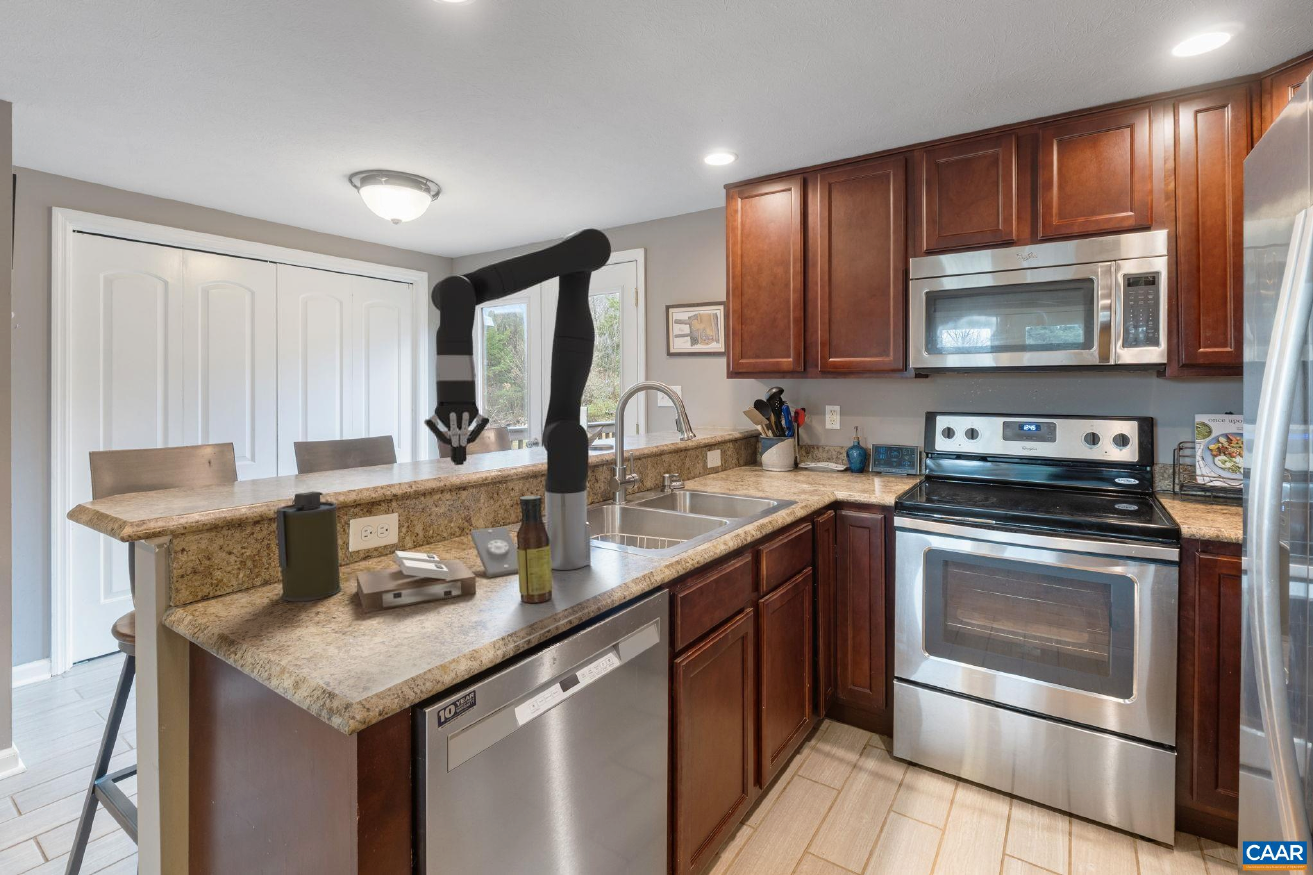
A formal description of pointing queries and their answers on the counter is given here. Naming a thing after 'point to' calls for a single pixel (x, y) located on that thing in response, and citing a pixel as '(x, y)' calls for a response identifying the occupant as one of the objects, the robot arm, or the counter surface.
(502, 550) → the light switch
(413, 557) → the rocker
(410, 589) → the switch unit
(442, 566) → the rocker
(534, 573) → the sauce bottle
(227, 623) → the counter surface
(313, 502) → the canister
